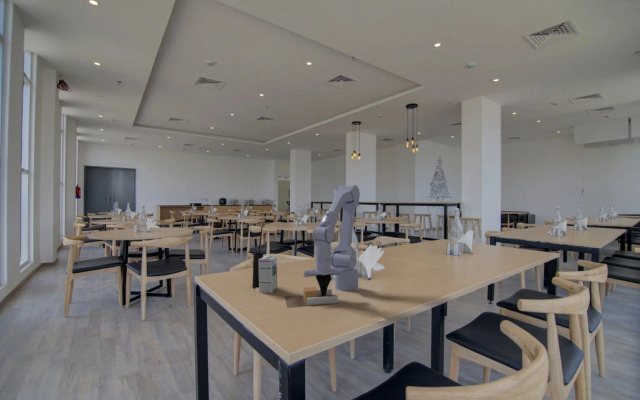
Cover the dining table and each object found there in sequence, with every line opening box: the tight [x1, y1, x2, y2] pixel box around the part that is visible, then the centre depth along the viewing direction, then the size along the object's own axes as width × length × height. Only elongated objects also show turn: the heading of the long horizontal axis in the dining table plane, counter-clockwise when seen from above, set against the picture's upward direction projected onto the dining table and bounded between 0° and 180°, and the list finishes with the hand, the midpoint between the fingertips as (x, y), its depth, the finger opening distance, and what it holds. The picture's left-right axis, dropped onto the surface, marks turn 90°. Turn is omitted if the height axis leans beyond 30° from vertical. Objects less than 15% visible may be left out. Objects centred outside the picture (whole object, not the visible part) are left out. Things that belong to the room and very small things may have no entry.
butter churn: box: [251, 222, 264, 289], centre depth 129 cm, size 9×10×28 cm
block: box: [303, 286, 318, 302], centre depth 109 cm, size 4×4×4 cm
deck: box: [284, 294, 339, 309], centre depth 109 cm, size 18×12×1 cm, turn 101°
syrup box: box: [258, 255, 278, 294], centre depth 121 cm, size 6×6×14 cm
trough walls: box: [302, 288, 339, 305], centre depth 110 cm, size 11×10×2 cm
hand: (323, 295), depth 110 cm, fingers closed
